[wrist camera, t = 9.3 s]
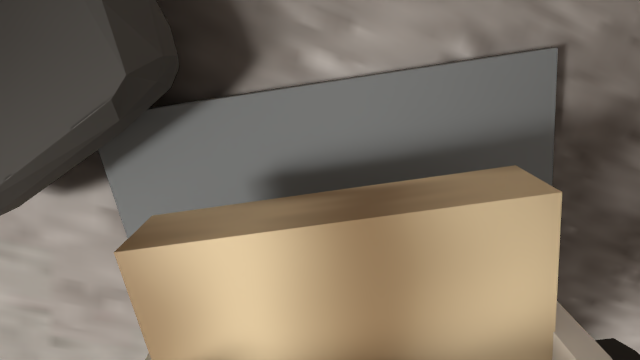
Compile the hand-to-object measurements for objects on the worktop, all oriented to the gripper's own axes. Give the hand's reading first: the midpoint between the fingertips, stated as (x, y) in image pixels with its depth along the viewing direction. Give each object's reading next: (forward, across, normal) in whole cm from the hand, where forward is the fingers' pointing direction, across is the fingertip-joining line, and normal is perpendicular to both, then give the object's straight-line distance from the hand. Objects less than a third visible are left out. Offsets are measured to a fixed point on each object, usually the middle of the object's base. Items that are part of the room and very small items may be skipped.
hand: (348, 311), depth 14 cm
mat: (+2, 0, 0) cm, 2 cm away
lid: (-1, 0, 0) cm, 1 cm away
